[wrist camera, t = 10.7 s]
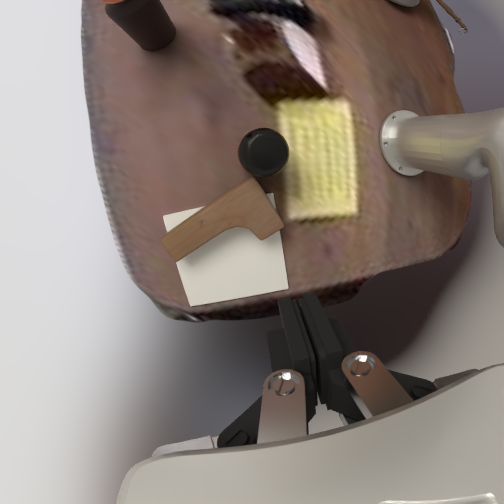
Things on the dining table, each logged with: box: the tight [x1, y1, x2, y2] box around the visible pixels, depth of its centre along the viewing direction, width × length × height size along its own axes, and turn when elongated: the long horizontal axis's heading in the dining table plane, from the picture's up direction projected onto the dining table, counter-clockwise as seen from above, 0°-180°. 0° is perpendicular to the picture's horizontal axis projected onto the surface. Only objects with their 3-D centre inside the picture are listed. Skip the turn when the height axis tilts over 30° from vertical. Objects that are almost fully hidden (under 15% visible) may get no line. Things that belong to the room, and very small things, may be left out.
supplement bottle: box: [238, 128, 289, 177], centre depth 37 cm, size 7×7×12 cm
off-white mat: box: [163, 193, 289, 306], centre depth 48 cm, size 19×18×1 cm
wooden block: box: [160, 176, 285, 262], centre depth 44 cm, size 9×4×18 cm
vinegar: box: [103, 0, 175, 51], centre depth 24 cm, size 7×7×20 cm
